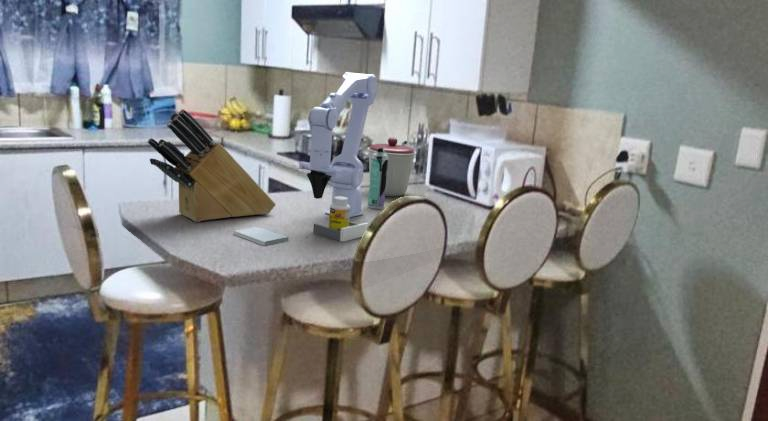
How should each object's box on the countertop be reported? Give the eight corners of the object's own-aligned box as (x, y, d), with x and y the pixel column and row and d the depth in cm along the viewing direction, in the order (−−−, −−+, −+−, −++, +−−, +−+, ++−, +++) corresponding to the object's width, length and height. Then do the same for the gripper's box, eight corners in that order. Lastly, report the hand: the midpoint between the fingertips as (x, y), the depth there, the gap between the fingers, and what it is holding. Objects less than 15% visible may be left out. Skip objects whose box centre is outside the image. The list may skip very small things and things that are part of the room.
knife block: (145, 217, 174) (144, 105, 167) (257, 206, 197) (261, 107, 190) (161, 227, 166) (161, 109, 159) (275, 214, 189) (280, 111, 182)
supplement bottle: (324, 233, 174) (326, 197, 172) (336, 229, 179) (338, 194, 176) (340, 237, 171) (343, 201, 169) (352, 233, 176) (354, 198, 174)
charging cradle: (338, 226, 182) (339, 214, 181) (367, 235, 176) (368, 222, 175) (313, 232, 174) (313, 219, 173) (342, 241, 167) (343, 228, 166)
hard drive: (288, 236, 164) (257, 225, 172) (264, 241, 158) (233, 230, 165) (288, 242, 164) (257, 231, 172) (264, 248, 158) (233, 236, 166)
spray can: (386, 208, 210) (391, 149, 205) (371, 208, 207) (375, 148, 203) (380, 204, 214) (385, 146, 210) (365, 204, 212) (370, 146, 208)
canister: (386, 200, 221) (391, 141, 216) (353, 190, 234) (358, 134, 229) (422, 196, 233) (427, 140, 229) (389, 187, 246) (394, 133, 241)
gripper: (292, 147, 176) (290, 194, 179) (330, 155, 168) (327, 204, 171) (310, 146, 182) (307, 191, 185) (347, 153, 173) (344, 201, 177)
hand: (318, 197), depth 178 cm, fingers closed
